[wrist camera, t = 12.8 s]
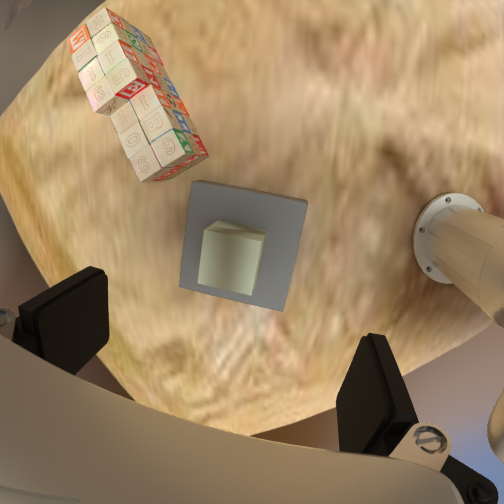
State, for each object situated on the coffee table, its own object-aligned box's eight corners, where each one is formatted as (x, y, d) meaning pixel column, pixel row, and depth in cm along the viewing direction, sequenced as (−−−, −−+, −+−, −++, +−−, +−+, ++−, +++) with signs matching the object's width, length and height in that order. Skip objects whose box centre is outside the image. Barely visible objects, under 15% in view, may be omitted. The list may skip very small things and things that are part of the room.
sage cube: (267, 229, 37) (261, 241, 31) (258, 276, 39) (251, 295, 33) (218, 219, 38) (204, 229, 32) (212, 266, 39) (197, 283, 34)
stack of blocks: (211, 156, 39) (174, 153, 27) (171, 179, 40) (124, 186, 29) (149, 36, 35) (104, 5, 23) (115, 60, 37) (64, 38, 25)
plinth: (307, 200, 38) (307, 203, 35) (284, 301, 42) (282, 311, 40) (199, 180, 40) (192, 181, 37) (186, 279, 44) (179, 287, 41)
